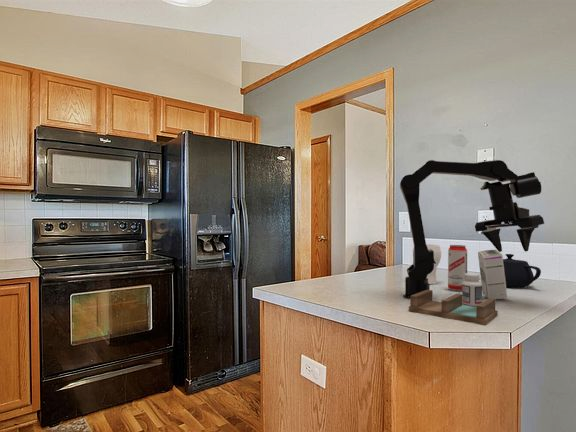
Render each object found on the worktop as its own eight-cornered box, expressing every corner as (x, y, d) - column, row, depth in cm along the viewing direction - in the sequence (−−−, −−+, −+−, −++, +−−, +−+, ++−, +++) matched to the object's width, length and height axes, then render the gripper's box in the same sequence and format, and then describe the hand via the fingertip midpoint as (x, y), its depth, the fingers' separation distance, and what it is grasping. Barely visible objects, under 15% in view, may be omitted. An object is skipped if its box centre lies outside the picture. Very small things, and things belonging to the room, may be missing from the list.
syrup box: (508, 298, 112) (503, 253, 110) (487, 300, 113) (482, 256, 111) (501, 291, 117) (496, 248, 115) (481, 293, 118) (477, 251, 116)
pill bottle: (481, 303, 108) (481, 273, 108) (482, 307, 103) (482, 276, 103) (462, 301, 110) (462, 272, 110) (462, 305, 105) (462, 275, 105)
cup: (444, 285, 137) (444, 246, 137) (415, 284, 139) (415, 245, 139) (437, 280, 148) (437, 244, 148) (410, 279, 150) (410, 243, 150)
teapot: (554, 290, 131) (554, 256, 131) (525, 292, 125) (525, 257, 125) (493, 279, 154) (493, 250, 154) (466, 281, 148) (466, 251, 148)
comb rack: (408, 310, 98) (408, 295, 98) (425, 303, 107) (425, 289, 107) (486, 325, 85) (486, 307, 85) (497, 315, 94) (497, 299, 94)
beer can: (466, 292, 124) (466, 246, 124) (446, 290, 127) (446, 245, 127) (468, 289, 129) (468, 245, 129) (449, 287, 133) (449, 244, 133)
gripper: (550, 192, 104) (562, 245, 104) (492, 201, 121) (502, 246, 121) (524, 198, 100) (537, 253, 99) (469, 206, 117) (479, 253, 117)
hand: (513, 251), depth 109 cm, fingers open, 8 cm apart
